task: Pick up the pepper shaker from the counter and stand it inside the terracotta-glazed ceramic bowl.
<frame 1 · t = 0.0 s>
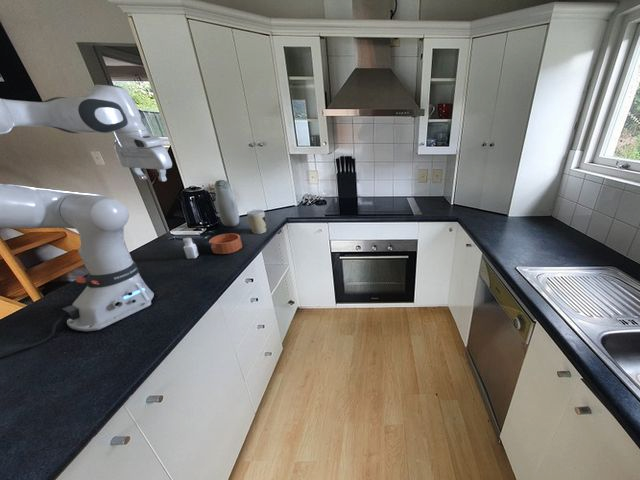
hand: (153, 180, 100), 39 cm above the worktop, tool pointing down, fingers open, 8 cm apart
coffee cup: (259, 231, 161), on the worktop
pepper shaker: (193, 257, 130), on the worktop
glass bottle: (232, 226, 169), on the worktop
bowl: (227, 249, 138), on the worktop
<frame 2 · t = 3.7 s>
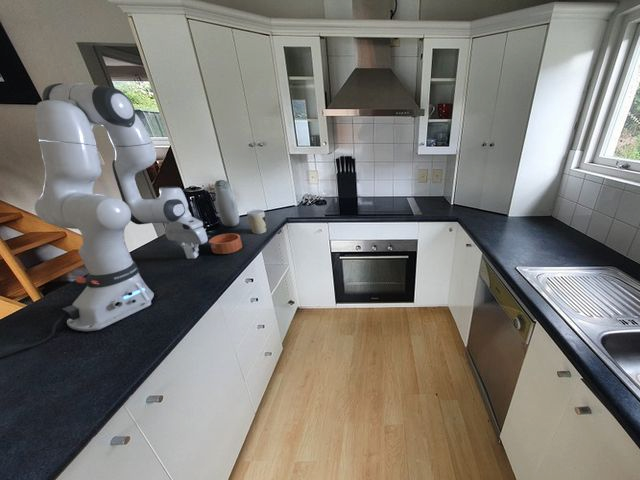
hand: (191, 250, 128), 4 cm above the worktop, tool pointing down, fingers closed on pepper shaker, 5 cm apart
pepper shaker: (193, 257, 130), on the worktop, touching gripper
everything else where it was.
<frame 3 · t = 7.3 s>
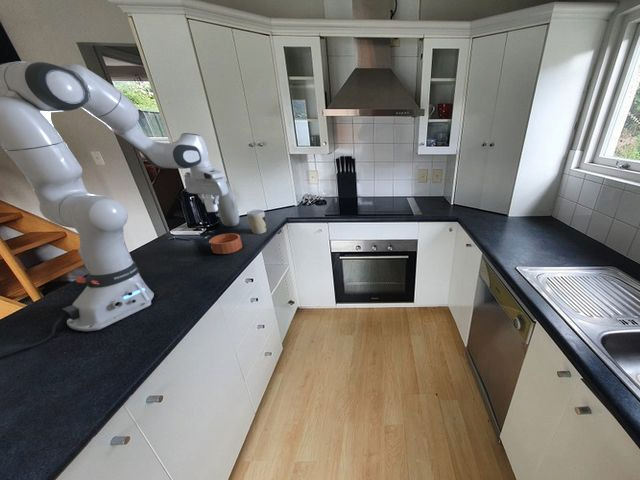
hand: (210, 203, 127), 24 cm above the worktop, tool pointing down, fingers closed on pepper shaker, 5 cm apart
pepper shaker: (213, 211, 128), point 20 cm above the worktop, touching gripper
everything else where it was.
when the fingers open (4 cm above the worktop, at t = 11.3 s): pepper shaker stays where it is, resting on bowl.
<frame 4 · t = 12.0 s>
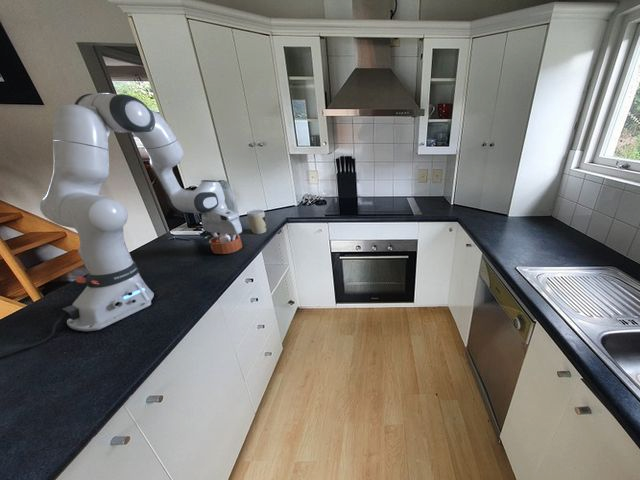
hand: (225, 240, 136), 5 cm above the worktop, tool pointing down, fingers open, 8 cm apart
pepper shaker: (227, 248, 138), resting on bowl
everything else where it was.
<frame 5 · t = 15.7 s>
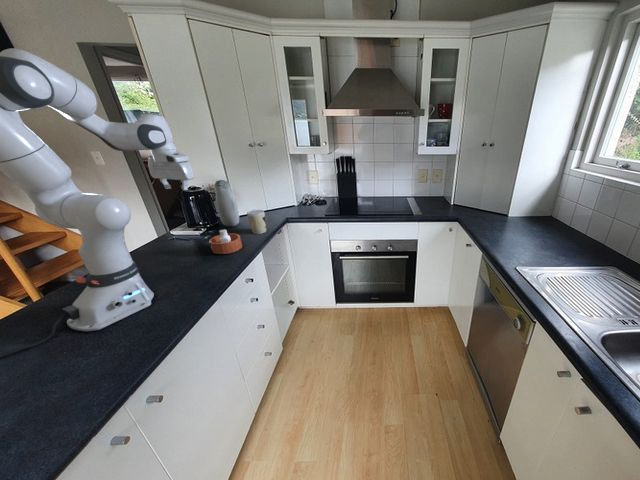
hand: (176, 189, 121), 31 cm above the worktop, tool pointing down, fingers open, 8 cm apart
nothing on the worktop moved.
at the end: pepper shaker inside the target area in the bowl (0.0 cm from its centre), point 0.4 cm above the bowl's base; pepper shaker tilted 0°; the gripper is holding nothing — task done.
